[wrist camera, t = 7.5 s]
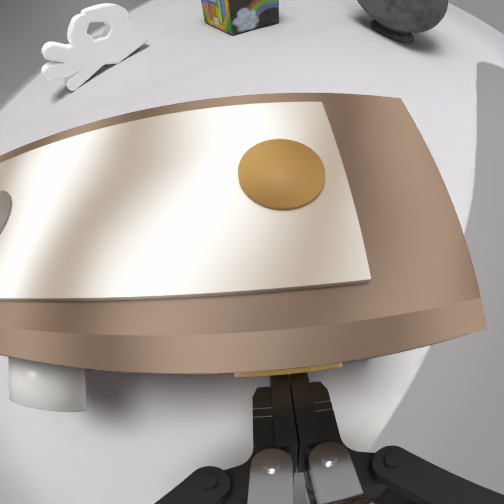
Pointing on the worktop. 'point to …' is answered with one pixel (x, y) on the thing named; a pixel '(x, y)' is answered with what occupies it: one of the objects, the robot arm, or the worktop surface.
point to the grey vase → (404, 16)
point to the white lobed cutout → (91, 45)
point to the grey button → (47, 386)
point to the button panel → (232, 239)
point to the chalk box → (240, 14)
